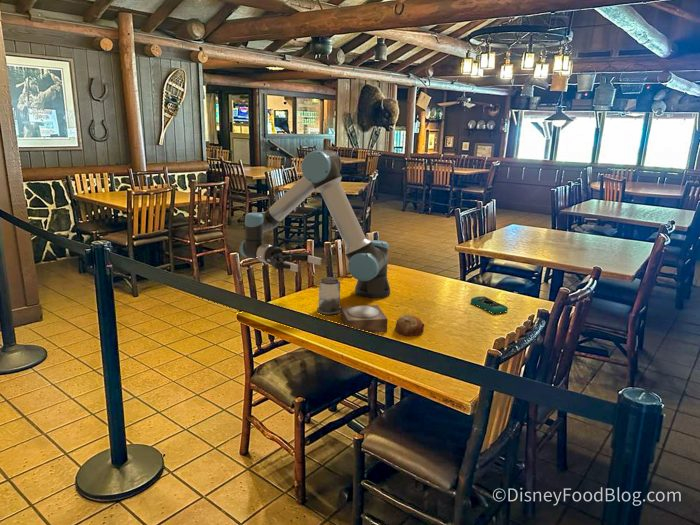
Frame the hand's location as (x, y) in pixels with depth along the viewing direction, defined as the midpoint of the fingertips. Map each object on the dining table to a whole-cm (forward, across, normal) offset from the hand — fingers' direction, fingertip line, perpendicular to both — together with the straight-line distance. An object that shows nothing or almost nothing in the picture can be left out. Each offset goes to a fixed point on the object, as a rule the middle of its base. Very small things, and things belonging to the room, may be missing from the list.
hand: (309, 265), depth 193 cm
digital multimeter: (+56, -47, -16) cm, 75 cm away
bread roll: (+44, -4, -16) cm, 47 cm away
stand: (+28, +2, -16) cm, 33 cm away
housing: (+10, 0, -16) cm, 19 cm away
